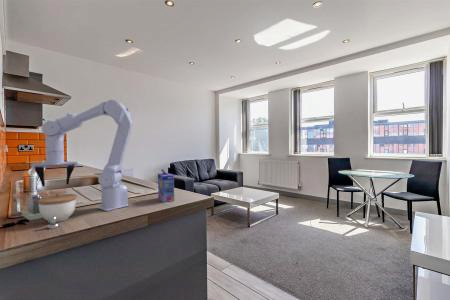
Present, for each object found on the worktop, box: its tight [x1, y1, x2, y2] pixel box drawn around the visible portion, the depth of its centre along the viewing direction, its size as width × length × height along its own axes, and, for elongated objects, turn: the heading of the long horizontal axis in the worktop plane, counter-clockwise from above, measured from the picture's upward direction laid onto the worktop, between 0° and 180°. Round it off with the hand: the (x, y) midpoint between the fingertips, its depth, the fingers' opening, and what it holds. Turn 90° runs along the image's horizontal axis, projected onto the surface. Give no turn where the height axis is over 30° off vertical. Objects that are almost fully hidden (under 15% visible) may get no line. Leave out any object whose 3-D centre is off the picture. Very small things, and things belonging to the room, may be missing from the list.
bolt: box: [46, 216, 60, 230], centre depth 70 cm, size 3×3×3 cm
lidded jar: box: [38, 192, 77, 223], centre depth 77 cm, size 11×11×9 cm
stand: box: [21, 209, 43, 221], centre depth 82 cm, size 7×10×2 cm
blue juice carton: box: [157, 169, 175, 203], centre depth 105 cm, size 10×6×14 cm, turn 31°
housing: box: [27, 194, 45, 214], centre depth 82 cm, size 4×8×6 cm, turn 53°
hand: (55, 185), depth 89 cm, fingers open, 7 cm apart
